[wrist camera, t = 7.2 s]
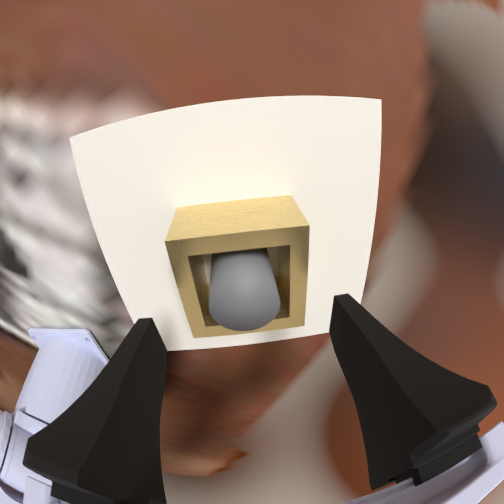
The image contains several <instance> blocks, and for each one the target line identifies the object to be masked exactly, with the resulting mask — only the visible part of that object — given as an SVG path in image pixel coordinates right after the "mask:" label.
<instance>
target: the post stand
mask: <svg viewBox="0 0 504 504" xmlns="http://www.w3.org/2000/svg"><path fill="white" fill-rule="evenodd" d="M70 143H71V148H72V152H73V157H74V161H75V165H76V169H77V173H78V177H79V181H80V184H81V188H82V191H83V195H84V198H85V202H86V205H87V208H88V211H89V214H90V218H91V221H92V224H93V227H94V229H95V232H96V235H97V238H98V241H99V243H100V246H101V249H102V251H103V254H104V257H105V259H106V262H107V264H108V267H109V269H110V272H111V274H112V276H113V279H114V281H115V283H116V286H117V288H118V290H119V293H120V295H121V297H122V299H123V301H124V303H125V306H126V308H127V310H128V312H129V314H130V316H131V318H132V320H133V322H134V324H135V323H136V321H137V320H138V319H139V318H153V320H154V323H155V325H156V327H157V329H158V332H159V334H160V336H161V338H162V340H163V342H164V344H165V347H166V349H167V351H174V350H191V349H205V348H217V347H228V346H238V345H247V344H255V343H263V342H271V341H278V340H285V339H291V338H298V337H304V336H310V335H316V334H321V333H327V332H329V327H330V320H331V313H332V306H333V299H334V296H335V295H341V294H347V293H348V294H349V295H351V296H352V297H353V298H354V299H355V300H356V301H357V302H358V303H359V304H361V299H362V294H363V289H364V284H365V279H366V274H367V268H368V263H369V257H370V251H371V244H372V237H373V230H374V223H375V214H376V205H377V196H378V184H379V171H380V154H381V100H379V99H370V98H358V97H341V96H275V97H258V98H246V99H235V100H226V101H218V102H211V103H204V104H197V105H191V106H185V107H180V108H174V109H169V110H164V111H160V112H155V113H151V114H146V115H142V116H138V117H134V118H130V119H126V120H123V121H119V122H116V123H112V124H109V125H105V126H102V127H99V128H96V129H93V130H90V131H87V132H84V133H81V134H78V135H75V136H73V137H70ZM285 195H292V197H293V199H294V200H295V202H296V204H297V205H298V207H299V208H300V210H301V212H302V213H303V215H304V217H305V218H306V220H307V222H308V223H309V225H310V233H309V260H308V280H307V297H306V311H305V325H304V326H301V327H294V328H287V329H279V330H272V331H264V332H255V333H246V334H237V335H227V336H215V337H203V338H193V335H192V332H191V329H190V326H189V323H188V320H187V317H186V314H185V311H184V308H183V305H182V301H181V298H180V295H179V291H178V288H177V285H176V281H175V278H174V274H173V271H172V267H171V264H170V260H169V256H168V253H167V249H166V245H165V239H166V236H167V233H168V231H169V228H170V225H171V223H172V220H173V218H174V215H175V212H176V210H177V207H184V206H192V205H199V204H207V203H216V202H224V201H233V200H242V199H252V198H262V197H273V196H285ZM202 257H203V262H204V267H205V272H206V277H207V281H208V284H210V295H209V311H210V314H211V316H212V318H213V319H214V320H215V321H216V322H217V323H218V324H219V325H221V326H223V327H225V328H227V329H230V330H234V331H251V330H255V329H259V328H261V327H263V326H265V325H267V324H268V323H270V322H271V321H272V320H273V319H274V318H275V317H276V315H277V314H278V312H279V309H280V298H279V294H278V290H277V286H276V282H275V278H274V276H278V246H274V247H265V248H256V249H247V250H238V251H229V252H220V253H211V254H202Z"/></svg>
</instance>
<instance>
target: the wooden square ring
mask: <svg viewBox="0 0 504 504" xmlns="http://www.w3.org/2000/svg"><path fill="white" fill-rule="evenodd" d="M309 233H310V225H309V223H308V222H307V220H306V218H305V217H304V215H303V213H302V212H301V210H300V208H299V207H298V205H297V204H296V202H295V200H294V199H293V197H292V195H285V196H273V197H262V198H252V199H242V200H233V201H224V202H216V203H207V204H199V205H192V206H184V207H177V210H176V212H175V215H174V218H173V220H172V223H171V225H170V228H169V231H168V233H167V236H166V239H165V245H166V249H167V253H168V256H169V260H170V264H171V267H172V271H173V274H174V278H175V281H176V285H177V288H178V291H179V295H180V298H181V301H182V305H183V308H184V311H185V314H186V317H187V320H188V323H189V326H190V329H191V332H192V335H193V338H203V337H215V336H227V335H237V334H246V333H255V332H264V331H272V330H279V329H287V328H294V327H301V326H304V325H305V311H306V297H307V280H308V260H309ZM274 246H278V276H274V278H275V282H276V286H277V290H278V294H279V298H280V309H279V312H278V314H277V315H276V317H275V318H274V319H273V320H272V321H271V322H270V323H268V324H267V325H265V326H263V327H261V328H259V329H255V330H251V331H234V330H230V329H227V328H225V327H223V326H221V325H219V324H218V323H217V322H216V321H215V320H214V319H213V318H212V316H211V314H210V311H209V295H210V284H208V281H207V277H206V272H205V267H204V262H203V257H202V254H211V253H220V252H229V251H238V250H247V249H256V248H265V247H274Z"/></svg>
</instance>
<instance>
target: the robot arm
mask: <svg viewBox="0 0 504 504" xmlns="http://www.w3.org/2000/svg"><path fill="white" fill-rule="evenodd" d="M28 333H29V335H30V336H31V338H32V339H33V340H34V342H35V343H36V344H37V346H38V347H39V348H40V349H39V351H38V353H37V355H36V357H35V360H34V362H33V364H32V366H31V369H30V371H29V373H28V376H27V378H26V381H25V383H24V386H23V388H22V391H21V393H20V396H19V399H18V402H17V404H16V407H15V410H14V412H13V413H11V414H10V413H8V412H7V411H4V412H0V504H166V503H167V502H166V497H165V492H164V486H163V480H162V470H161V459H160V415H161V407H162V400H163V393H164V386H165V379H166V370H167V349H166V347H165V344H164V342H163V340H162V338H161V336H160V334H159V332H158V329H157V327H156V325H155V323H154V320H153V318H139V319H138V320H137V321H136V323H135V324H134V326H133V327H132V328H131V330H130V331H129V333H128V334H127V336H126V337H125V339H124V340H123V342H122V343H121V345H120V346H119V347H118V349H117V350H116V352H115V353H114V355H113V356H112V357H111V359H110V360H109V359H108V358H107V356H106V355H105V353H104V352H103V350H102V349H101V347H100V346H99V344H98V343H97V341H96V340H95V338H94V337H93V335H92V334H91V332H90V331H89V330H87V329H46V328H29V330H28ZM329 333H330V336H331V340H332V344H333V347H334V351H335V354H336V356H337V358H338V361H339V363H340V366H341V368H342V371H343V373H344V376H345V378H346V381H347V383H348V386H349V388H350V391H351V393H352V395H353V398H354V401H355V405H356V409H357V412H358V417H359V420H360V425H361V429H362V434H363V439H364V444H365V450H366V456H367V463H368V471H369V482H370V486H371V489H372V490H375V489H378V488H381V487H383V486H386V485H389V484H391V483H394V482H396V484H395V485H393V486H391V487H388V488H385V489H383V490H380V491H378V492H375V493H372V494H369V495H366V496H363V497H360V498H357V499H354V500H350V501H348V502H344V503H340V504H477V503H478V502H479V501H480V500H482V499H483V498H484V497H485V496H486V495H487V494H488V493H489V492H490V491H491V490H492V489H493V488H495V486H497V485H498V484H499V483H500V482H501V481H502V480H503V479H504V424H503V422H502V421H501V422H499V423H498V424H497V425H495V426H494V427H493V428H491V429H490V430H489V431H487V432H486V433H485V434H483V435H482V436H481V437H478V435H477V433H478V432H479V431H480V428H479V426H478V423H479V422H480V421H482V420H483V419H484V418H485V417H486V416H487V415H488V414H489V413H490V412H492V410H494V408H495V407H496V406H497V401H496V399H495V397H494V395H493V394H492V392H491V390H490V388H489V387H488V386H487V385H484V384H481V383H478V382H475V381H472V380H470V379H467V378H465V377H462V376H460V375H458V374H455V373H453V372H451V371H449V370H447V369H445V368H443V367H441V366H440V365H438V364H436V363H434V362H432V361H431V360H429V359H427V358H426V357H424V356H423V355H421V354H420V353H418V352H417V351H415V350H414V349H412V348H411V347H409V346H408V345H407V344H405V343H404V342H403V341H401V340H400V339H399V338H398V337H396V336H395V335H394V334H393V333H391V332H390V331H389V330H388V329H387V328H386V327H384V326H383V325H382V324H381V323H380V322H379V321H378V320H376V319H375V318H374V317H373V316H372V315H371V314H370V313H369V312H368V311H367V310H366V309H365V308H363V307H362V306H361V305H360V304H359V303H358V302H357V301H356V300H355V299H354V298H353V297H352V296H351V295H349V294H348V293H347V294H341V295H335V296H334V299H333V306H332V313H331V320H330V327H329Z"/></svg>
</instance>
